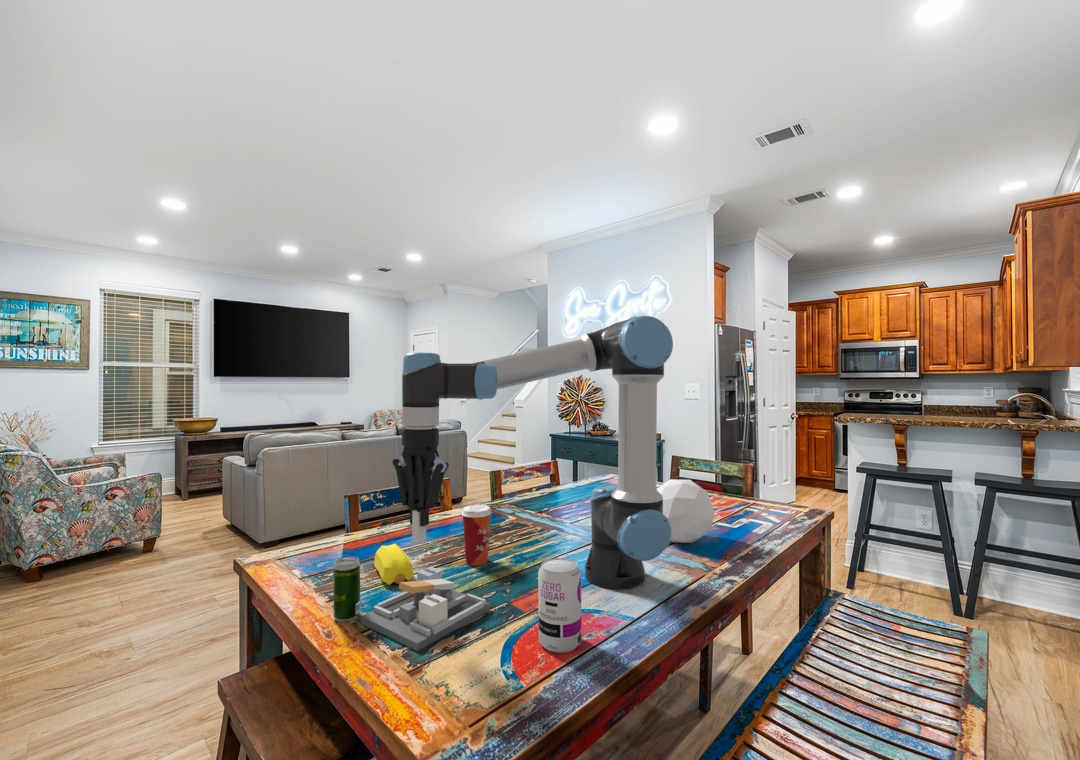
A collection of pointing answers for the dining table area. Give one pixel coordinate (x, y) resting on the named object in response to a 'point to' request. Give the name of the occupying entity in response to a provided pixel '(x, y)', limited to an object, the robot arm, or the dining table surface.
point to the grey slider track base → (403, 617)
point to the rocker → (426, 585)
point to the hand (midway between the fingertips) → (419, 540)
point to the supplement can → (559, 605)
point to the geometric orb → (686, 510)
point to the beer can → (346, 589)
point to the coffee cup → (476, 534)
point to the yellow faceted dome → (393, 564)
